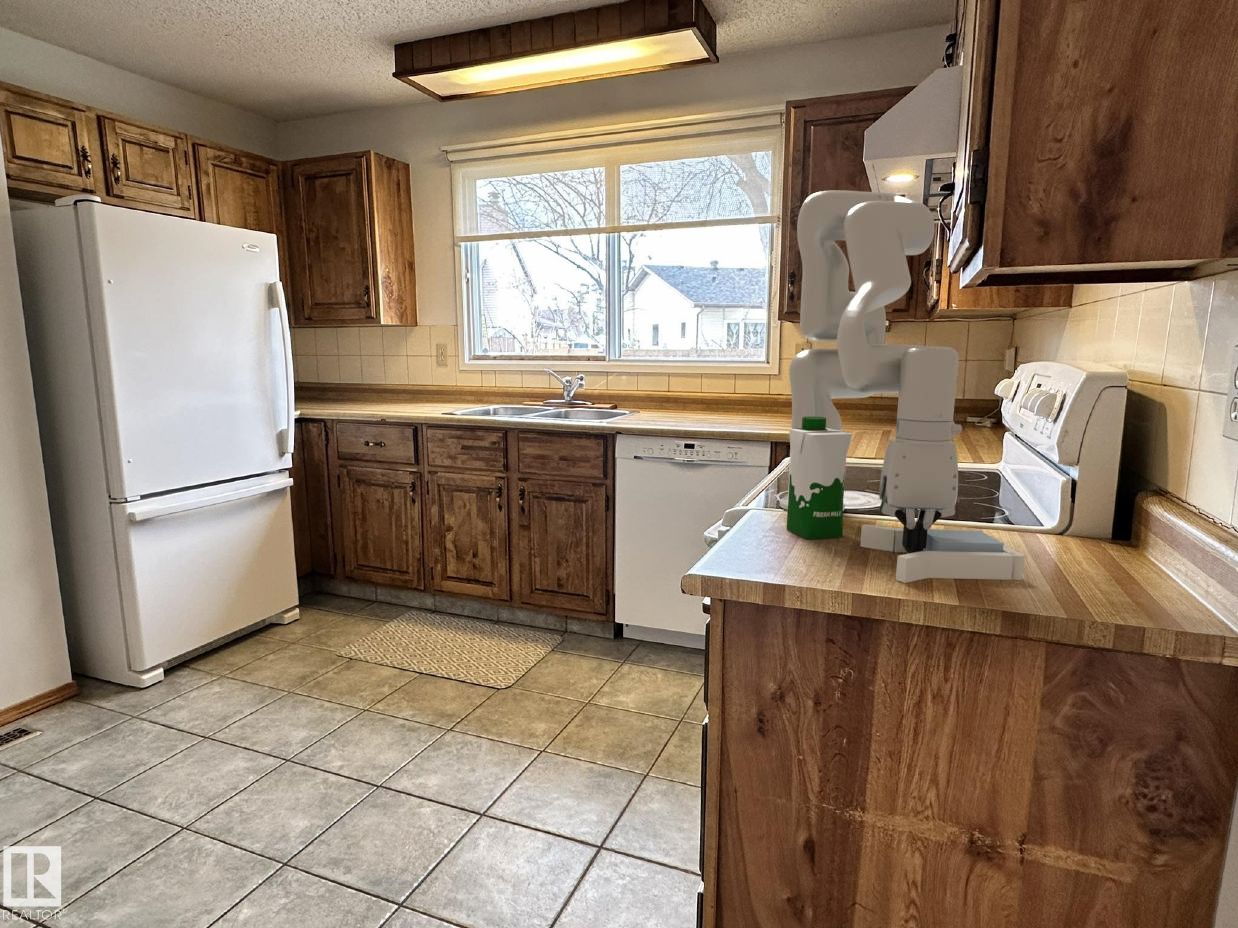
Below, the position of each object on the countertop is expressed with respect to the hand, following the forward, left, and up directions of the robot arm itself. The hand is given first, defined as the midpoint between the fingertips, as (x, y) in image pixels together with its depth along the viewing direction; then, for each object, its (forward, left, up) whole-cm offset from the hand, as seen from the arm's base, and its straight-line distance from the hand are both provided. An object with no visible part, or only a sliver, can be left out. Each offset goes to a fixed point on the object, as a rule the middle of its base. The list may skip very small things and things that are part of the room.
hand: (913, 552), depth 104 cm
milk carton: (-16, -11, -2) cm, 20 cm away
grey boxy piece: (0, +7, -2) cm, 7 cm away
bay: (0, +4, -2) cm, 4 cm away
